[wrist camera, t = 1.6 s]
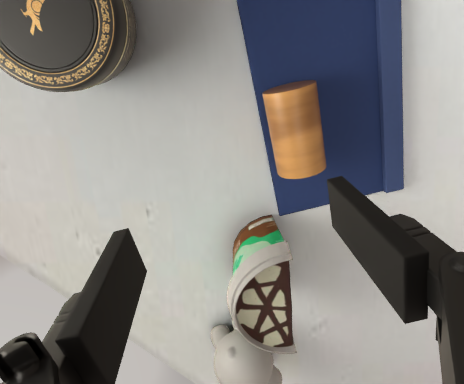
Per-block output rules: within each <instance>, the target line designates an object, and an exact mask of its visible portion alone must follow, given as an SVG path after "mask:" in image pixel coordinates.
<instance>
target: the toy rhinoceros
mask: <svg viewBox="0 0 464 384" xmlns="http://www.w3.org/2000/svg"><path fill="white" fill-rule="evenodd" d="M232 324H233V328H234V331H232V332H230V330H229V328H228V327H227V326H225V325H217V326H215V327H214V328H213V329H212V331H211V341H212V344H213V346H214V347H215V349H216V351H215V355H214V370H215V374H216V377H217V379H218V381H219V383H220V384H282V375H281V372H280V371H279V370H278V369H277V368H276V367H275V366H274V365H273V357H272V353H271V352H268V351H265V350H262V349H260V348H258V347H256V346H254V345H252V344H251V343H249V342H248V341H247V340H246V339H245V338H244V337H243V336H242V334H241V333H240V332H239V330H238V329H237V328H236V326H235V324H234V322H233V320H232Z"/></svg>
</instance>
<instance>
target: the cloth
mask: <svg viewBox="0 0 464 384" xmlns="http://www.w3.org/2000/svg"><path fill="white" fill-rule="evenodd" d="M237 4H238V9H239V14H240V19H241V24H242V29H243V34H244V39H245V44H246V49H247V54H248V59H249V64H250V69H251V74H252V79H253V84H254V89H255V95H256V100H257V105H258V110H259V115H260V120H261V125H262V130H263V135H264V140H265V145H266V150H267V155H268V160H269V165H270V170H271V175H272V180H273V185H274V190H275V195H276V200H277V205H278V210H279V215H280V216H282V215H286V214H290V213H294V212H298V211H302V210H306V209H311V208H315V207H319V206H323V205H327V204H330V202H329V194H328V186H327V179H330V178H334V177H338V176H343V177H344V178H345V179H346V180H347V181H349V182H350V183H351V184H352V185H353V186H354V187H355V188H357V189H358V190H359V191H360V192H361V193H362V194H364V195H368V194H372V193H376V192H380V191H384V192H386V193H389V192H393V191H397V190H401V189H404V178H403V104H402V30H401V0H237ZM306 80H315V81H316V83H317V91H318V99H319V108H320V116H321V124H322V133H323V141H324V149H325V158H326V168H325V169H324V170H323V171H322V172H321V173H319V174H317V175H314V176H311V177H307V178H301V179H286V178H282V177H280V176H279V175H278V173H277V169H276V163H275V158H274V153H273V147H272V142H271V137H270V132H269V126H268V121H267V116H266V111H265V105H264V100H263V95H262V93H263V92H264V91H266V90H268V89H271V88H274V87H277V86H280V85H284V84H288V83H293V82H299V81H306Z"/></svg>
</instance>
